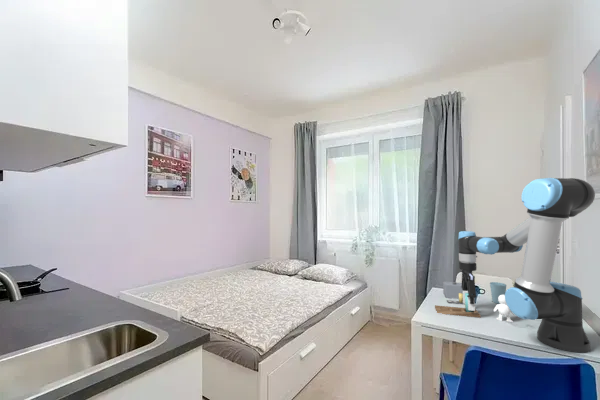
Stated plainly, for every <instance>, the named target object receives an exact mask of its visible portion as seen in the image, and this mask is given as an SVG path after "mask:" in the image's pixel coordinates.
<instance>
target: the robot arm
mask: <svg viewBox="0 0 600 400" xmlns="http://www.w3.org/2000/svg"><path fill="white" fill-rule="evenodd" d="M595 198H596V192H595V189H594V187H593V186H592V185H591V184H590V183H588V182H587V181H586V180H584V179H580V178H576V177H575V178H574V177H573V178H572V177H569V178H563V177H559V178H558V177H555V178H554V177H545V178H536V179H533V180H532V181H531V182H529V183H528V184H526V185H525V186H524V188H523V190H522V192H521V202H522V203H523V206H524V207H525V208H526V209H527V210H526V213H527V215H528V216H529V217H528V218H527V219H525V220H524V221H522V222H521V223H520V224H518V225H516V226H515V227H514V228H513V229H511V230H509V231H508V232H507V233H505V234H504V235H501V236H483V237H482V236H477V235H476V234H477V233H476V232H475V231H472V230H463V231H462V230H461V231H459V232H458V238H457V240H458V261H459V262H458V269H460V270H461V283H462V286H461V287H462V290H464V291H463V304H462V305H465V293H468V295H467V297H468V310H472V311H475V309H476V302H475V301H476V300H475V299H476V298H477V291H476V282H475V279H476V277H475V275H474V274H473V272H475V271H477V268H478V267H477V263H476V262H477V258H478V255H477V253H479V254H483V255H495V254H498V253H501V254H502V253H506V254H507V253H511V254H512V253H517V252H520V251H522V249H523V247H524V245H525V244H526V245H525V251H524V257H523V262H522V263H523V264H522V268H521V272H520V273H521V274H520V276H519V277H516V278H515V280H514V285H513V287H509V288H508V289H507V288H506V292H505V301H506V304H507V306H508V307H509V309H510V310H511V311H512V313H514V316H515V317H516V316H517V317H518V318H519V319H522V320H534V321H535V320H541V321H540V324H539V326H538V329H537V331H536V332H537V333H536V337H537V339H538V340H539V341H540V342H541V343H543V344H545V345H547V346H550V347H553V348H554V349H558V350H561V351H566V352H572V353H588V352H590V351H591V342H590V341H589V338H588V336H587V334H586V331H585V329H584V327H583V326H584V325H583V301H582V300H583V296H582V291H581V289H580V288H579V287H577V286H574V285H571V284H566V283H563V282H555V281H551V278H552V276H553V275H552V273H553V269H554V265H555V260H556V254H557V249H558V245H559V239H560V235H561V229H562V225H563V222H565V221H566V220H568V219H569V218H574V217H576V216H577V215H579V214H580V213H582V212H584V211H586V210H587V209H588V208H590V206H591V205H592V204H593V203H594V201H595ZM512 313H511V314H512Z"/></svg>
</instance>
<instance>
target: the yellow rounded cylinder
mask: <svg viewBox="0 0 600 400" xmlns="http://www.w3.org/2000/svg"><path fill="white" fill-rule="evenodd" d="M446 303H448V304H457V305H464V304H463V294H462V293H459V299H458V300H450V299H449V300H448V299H446Z"/></svg>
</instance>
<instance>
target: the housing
mask: <svg viewBox="0 0 600 400" xmlns="http://www.w3.org/2000/svg"><path fill="white" fill-rule="evenodd" d="M461 286H462V282H456V281H442V287H443V288H442V290H443V291H442V293H443V296H444V297H445V298H446V299H458V300H459V293H462V294H463V291H464V290H462V287H461Z"/></svg>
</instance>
